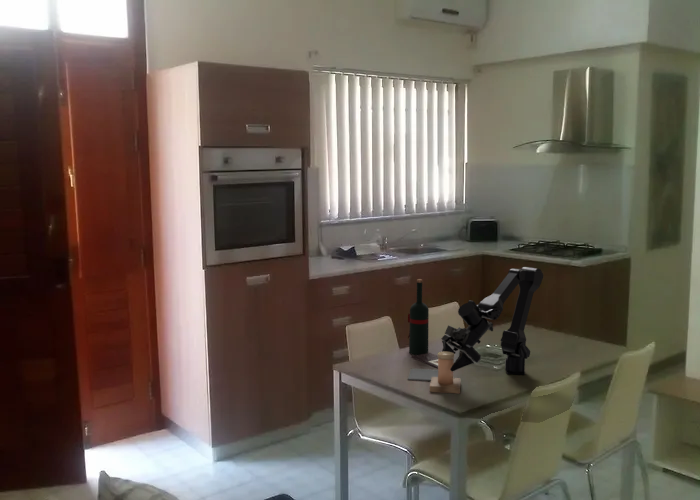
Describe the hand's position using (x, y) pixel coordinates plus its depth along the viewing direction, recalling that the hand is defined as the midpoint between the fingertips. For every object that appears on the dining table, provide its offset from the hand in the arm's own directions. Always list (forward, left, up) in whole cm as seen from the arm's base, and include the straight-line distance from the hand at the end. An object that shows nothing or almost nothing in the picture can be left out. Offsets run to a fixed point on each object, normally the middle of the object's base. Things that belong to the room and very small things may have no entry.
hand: (444, 366), depth 229 cm
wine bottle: (+13, -42, -8) cm, 45 cm away
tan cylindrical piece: (0, 0, -5) cm, 6 cm away
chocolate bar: (+5, -30, -8) cm, 32 cm away
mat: (+6, -12, -7) cm, 16 cm away
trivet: (0, 0, -7) cm, 8 cm away
